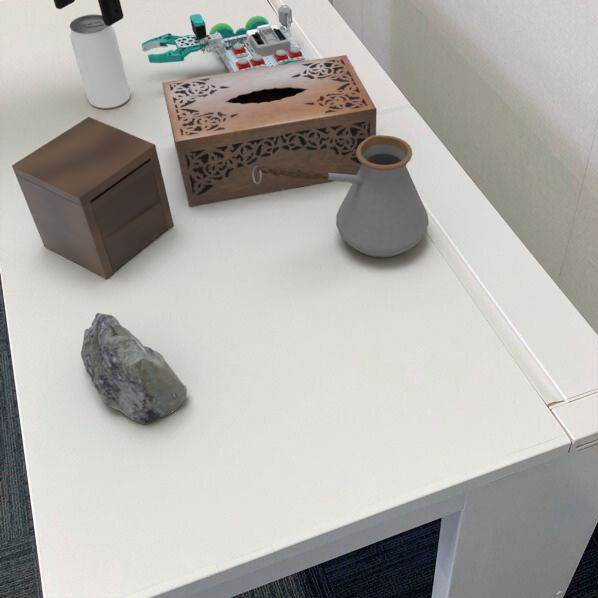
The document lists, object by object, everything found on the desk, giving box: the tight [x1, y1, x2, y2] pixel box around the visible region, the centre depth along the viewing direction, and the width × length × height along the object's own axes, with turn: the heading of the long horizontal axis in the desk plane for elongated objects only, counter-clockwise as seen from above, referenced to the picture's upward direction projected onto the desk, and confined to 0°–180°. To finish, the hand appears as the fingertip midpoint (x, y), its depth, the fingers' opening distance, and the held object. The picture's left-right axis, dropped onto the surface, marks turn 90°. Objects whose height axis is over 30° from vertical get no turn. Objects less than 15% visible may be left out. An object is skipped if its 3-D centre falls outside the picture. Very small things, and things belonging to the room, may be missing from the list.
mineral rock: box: [80, 312, 188, 425], centre depth 79 cm, size 13×11×10 cm
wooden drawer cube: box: [11, 116, 175, 280], centre depth 94 cm, size 11×12×12 cm
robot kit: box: [141, 4, 310, 72], centre depth 121 cm, size 19×25×9 cm
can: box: [69, 13, 131, 110], centre depth 115 cm, size 6×6×12 cm
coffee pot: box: [252, 134, 430, 258], centre depth 91 cm, size 21×12×15 cm, turn 113°
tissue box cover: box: [161, 54, 377, 208], centre depth 105 cm, size 26×14×10 cm, turn 106°
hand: (89, 13), depth 110 cm, fingers open, 9 cm apart
